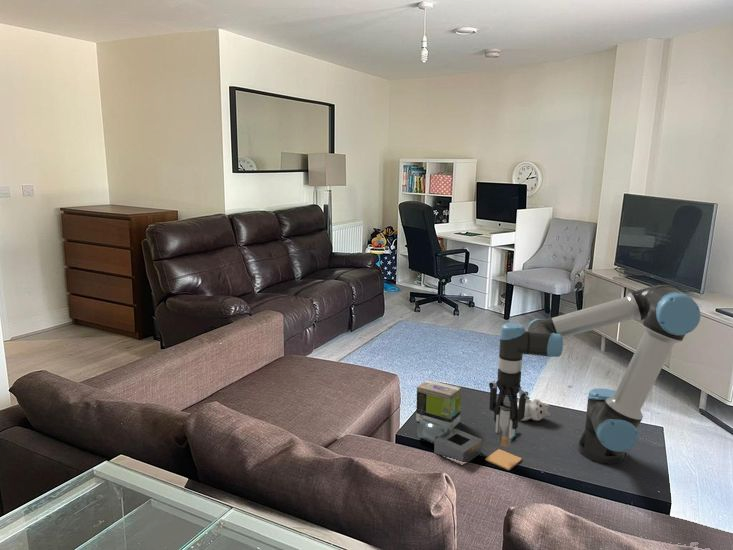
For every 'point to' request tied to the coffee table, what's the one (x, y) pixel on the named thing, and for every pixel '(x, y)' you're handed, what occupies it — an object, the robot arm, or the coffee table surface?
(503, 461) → the pad
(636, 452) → the coffee table surface
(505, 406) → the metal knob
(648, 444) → the coffee table surface
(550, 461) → the coffee table surface
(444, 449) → the grey piece
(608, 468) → the coffee table surface
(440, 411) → the tea box
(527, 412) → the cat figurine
